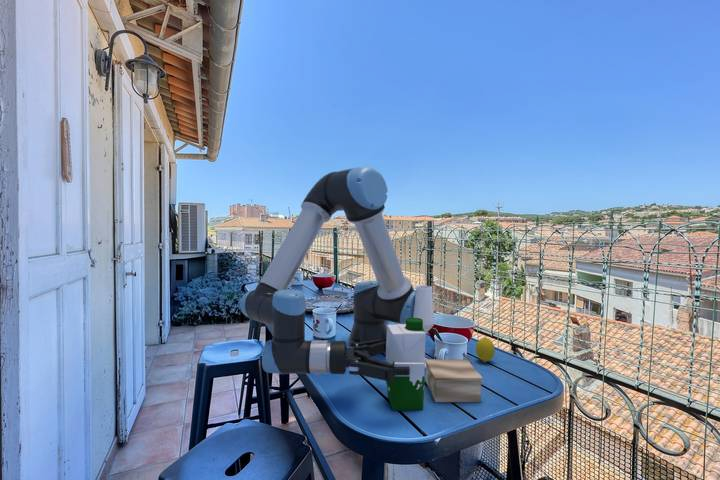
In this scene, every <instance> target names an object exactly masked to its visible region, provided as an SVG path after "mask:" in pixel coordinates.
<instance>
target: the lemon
mask: <svg viewBox="0 0 720 480" xmlns="http://www.w3.org/2000/svg"><path fill="white" fill-rule="evenodd" d="M475 353H476V355H477V357H478V359H480V360H481V361H482V362H483V363H487V362H490V361H492V359H493V358H494V357H495V353H496V351H495V346H494V342H493V341H492V340H490V339H489V338H487V336H484V337H482V338H480V339H479V340H478V341H477V342H476V346H475Z"/></svg>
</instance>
